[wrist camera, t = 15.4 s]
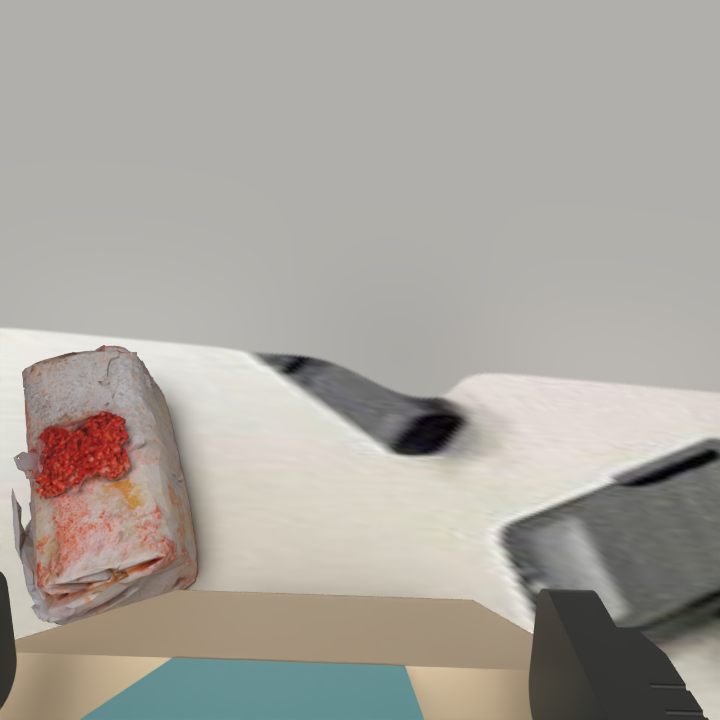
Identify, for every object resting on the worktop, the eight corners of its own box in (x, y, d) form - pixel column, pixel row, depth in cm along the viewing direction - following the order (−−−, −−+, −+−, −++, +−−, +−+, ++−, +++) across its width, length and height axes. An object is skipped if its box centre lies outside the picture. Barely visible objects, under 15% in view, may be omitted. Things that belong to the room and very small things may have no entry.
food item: (220, 595, 36) (179, 552, 27) (76, 647, 34) (-14, 619, 26) (173, 393, 42) (128, 308, 34) (50, 429, 41) (-29, 350, 32)
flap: (-551, 965, 5) (-493, 796, 5) (174, 621, 25) (178, 589, 26) (933, 1021, 5) (904, 846, 5) (473, 631, 25) (472, 599, 26)
